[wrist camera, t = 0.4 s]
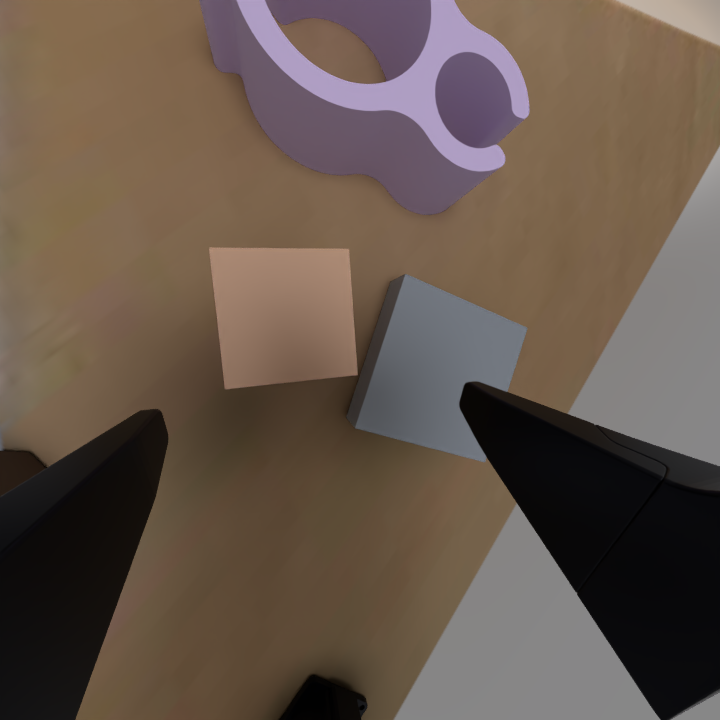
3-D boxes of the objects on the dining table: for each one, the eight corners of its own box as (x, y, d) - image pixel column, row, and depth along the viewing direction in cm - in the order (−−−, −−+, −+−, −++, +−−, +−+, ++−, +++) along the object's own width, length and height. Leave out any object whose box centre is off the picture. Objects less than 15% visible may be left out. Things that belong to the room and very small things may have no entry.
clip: (485, 131, 26) (555, 60, 20) (424, 251, 25) (475, 221, 19) (278, -54, 21) (278, -239, 14) (193, 91, 20) (151, -31, 13)
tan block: (319, 357, 23) (357, 374, 12) (253, 363, 22) (225, 389, 11) (313, 294, 23) (349, 248, 11) (246, 296, 22) (209, 247, 10)
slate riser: (463, 449, 28) (484, 462, 25) (345, 417, 24) (354, 428, 21) (501, 329, 28) (527, 328, 25) (390, 281, 25) (405, 273, 22)
